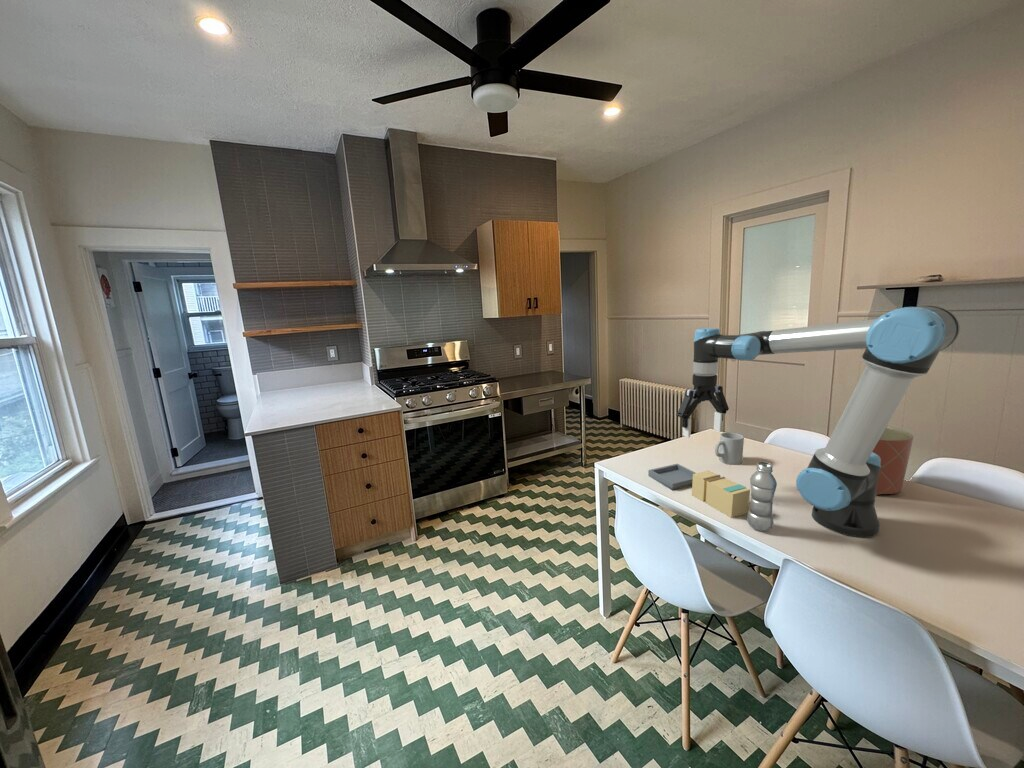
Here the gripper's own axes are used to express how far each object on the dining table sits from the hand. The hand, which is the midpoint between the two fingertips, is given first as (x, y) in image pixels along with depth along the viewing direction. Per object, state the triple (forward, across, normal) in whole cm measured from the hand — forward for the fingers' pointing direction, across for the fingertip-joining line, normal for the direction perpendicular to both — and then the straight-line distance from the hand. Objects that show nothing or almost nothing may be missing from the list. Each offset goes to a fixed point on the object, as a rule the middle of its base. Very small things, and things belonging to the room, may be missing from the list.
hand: (702, 433), depth 135 cm
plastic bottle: (+21, +3, +26) cm, 34 cm away
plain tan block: (+21, +3, +6) cm, 22 cm away
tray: (+20, +3, -9) cm, 23 cm away
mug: (+21, -27, -14) cm, 37 cm away
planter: (+21, -53, +21) cm, 61 cm away
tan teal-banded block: (+21, +3, +14) cm, 25 cm away
